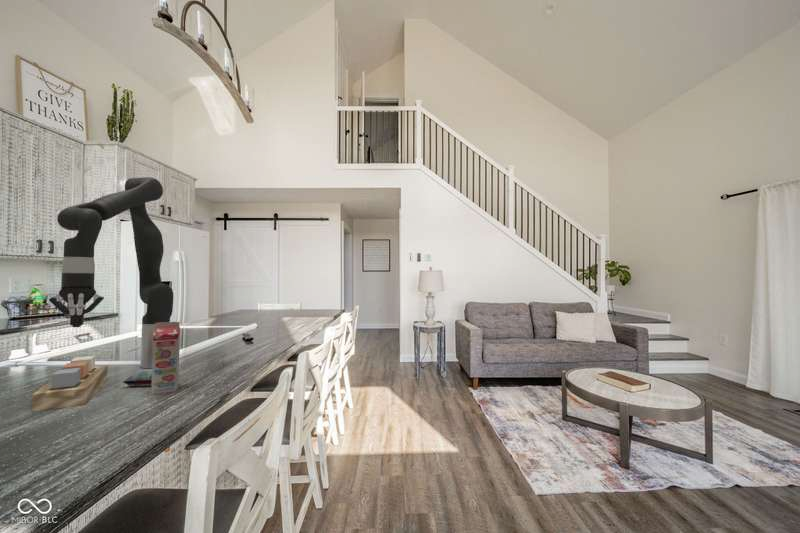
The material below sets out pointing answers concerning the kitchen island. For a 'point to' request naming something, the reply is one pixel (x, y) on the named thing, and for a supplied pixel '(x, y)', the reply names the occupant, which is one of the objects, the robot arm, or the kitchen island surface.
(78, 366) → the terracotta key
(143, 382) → the packaged food
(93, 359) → the white square block
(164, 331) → the juice carton
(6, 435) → the kitchen island surface
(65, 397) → the light brown rectangular frame
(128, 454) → the kitchen island surface
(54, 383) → the slate key
